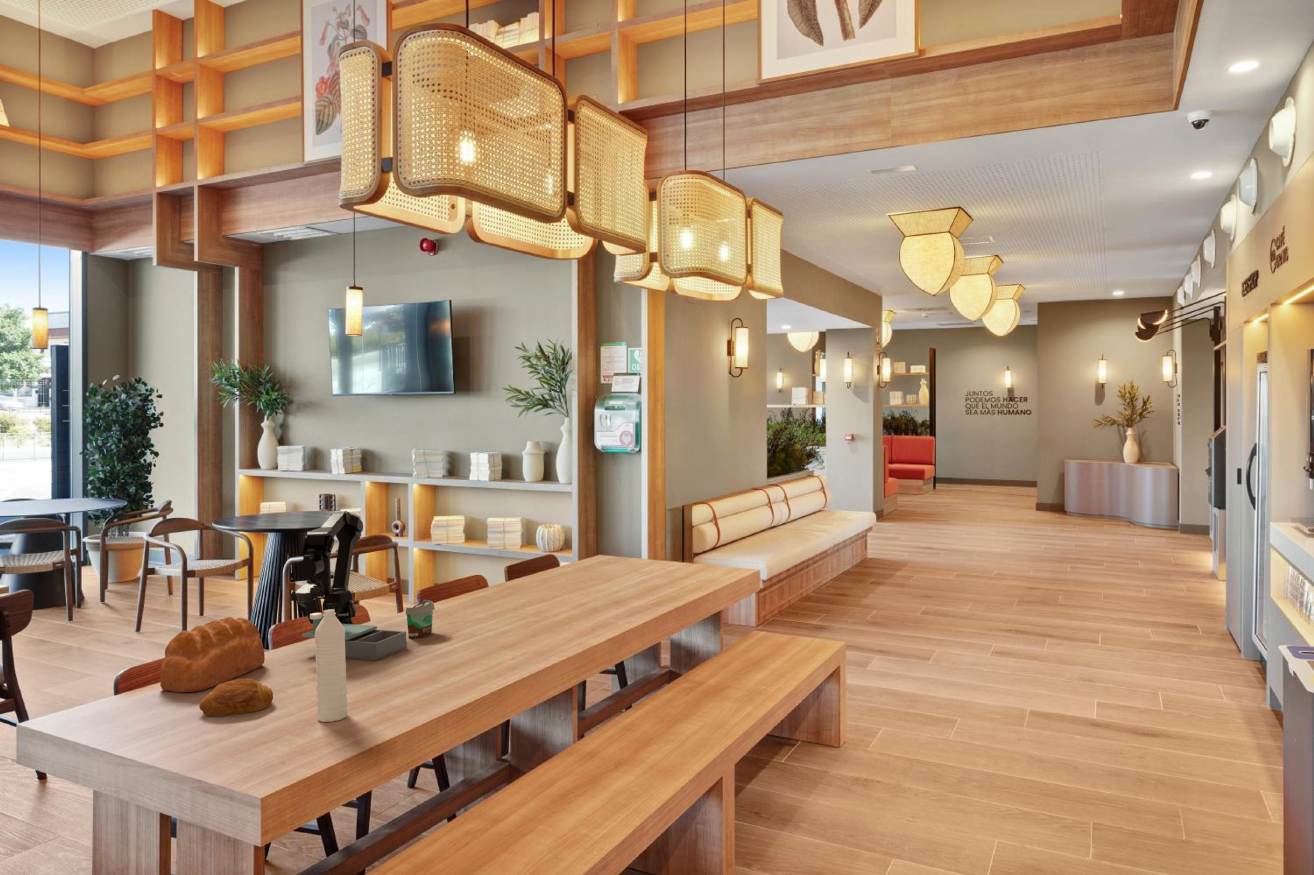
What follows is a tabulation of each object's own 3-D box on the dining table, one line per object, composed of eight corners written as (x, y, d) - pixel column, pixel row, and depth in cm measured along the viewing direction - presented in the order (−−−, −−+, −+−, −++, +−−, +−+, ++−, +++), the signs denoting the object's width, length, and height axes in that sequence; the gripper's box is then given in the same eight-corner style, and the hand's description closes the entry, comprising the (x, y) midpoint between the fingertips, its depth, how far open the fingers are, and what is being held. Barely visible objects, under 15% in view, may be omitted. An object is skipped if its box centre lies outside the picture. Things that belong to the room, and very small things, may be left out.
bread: (153, 692, 217) (151, 632, 217) (230, 662, 242) (228, 609, 242) (197, 695, 213) (195, 634, 213) (271, 665, 239) (269, 611, 238)
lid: (301, 636, 249) (301, 620, 249) (334, 625, 262) (333, 610, 262) (346, 640, 244) (345, 623, 243) (377, 628, 257) (376, 612, 257)
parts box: (331, 657, 245) (330, 640, 245) (362, 644, 259) (362, 628, 259) (376, 661, 240) (376, 643, 240) (406, 648, 253) (406, 631, 253)
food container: (424, 640, 262) (423, 608, 262) (406, 639, 264) (405, 608, 263) (442, 630, 274) (441, 600, 274) (424, 630, 276) (423, 599, 275)
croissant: (267, 723, 198) (271, 689, 198) (193, 722, 194) (197, 687, 193) (276, 702, 212) (280, 670, 212) (208, 700, 207) (212, 668, 207)
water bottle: (331, 711, 198) (328, 605, 198) (353, 714, 196) (350, 607, 195) (303, 724, 190) (300, 614, 190) (326, 727, 188) (323, 615, 187)
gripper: (275, 576, 250) (277, 628, 250) (327, 579, 244) (328, 632, 244) (303, 570, 261) (304, 620, 261) (352, 572, 254) (354, 623, 255)
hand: (322, 624), depth 255 cm, fingers open, 7 cm apart
